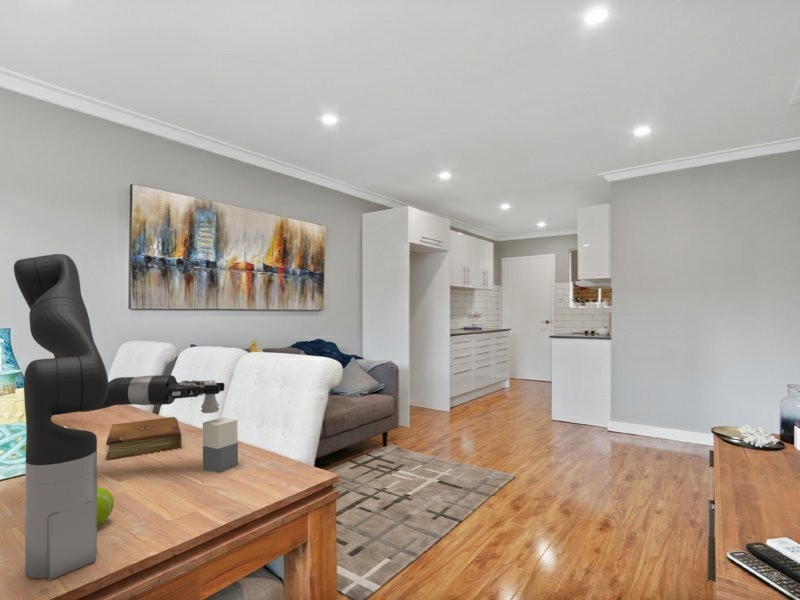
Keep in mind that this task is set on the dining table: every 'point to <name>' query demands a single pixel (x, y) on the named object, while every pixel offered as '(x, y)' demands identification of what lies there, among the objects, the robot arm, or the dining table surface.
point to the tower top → (220, 433)
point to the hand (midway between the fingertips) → (221, 388)
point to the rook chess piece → (210, 401)
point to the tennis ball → (104, 504)
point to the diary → (143, 437)
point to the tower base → (220, 458)
